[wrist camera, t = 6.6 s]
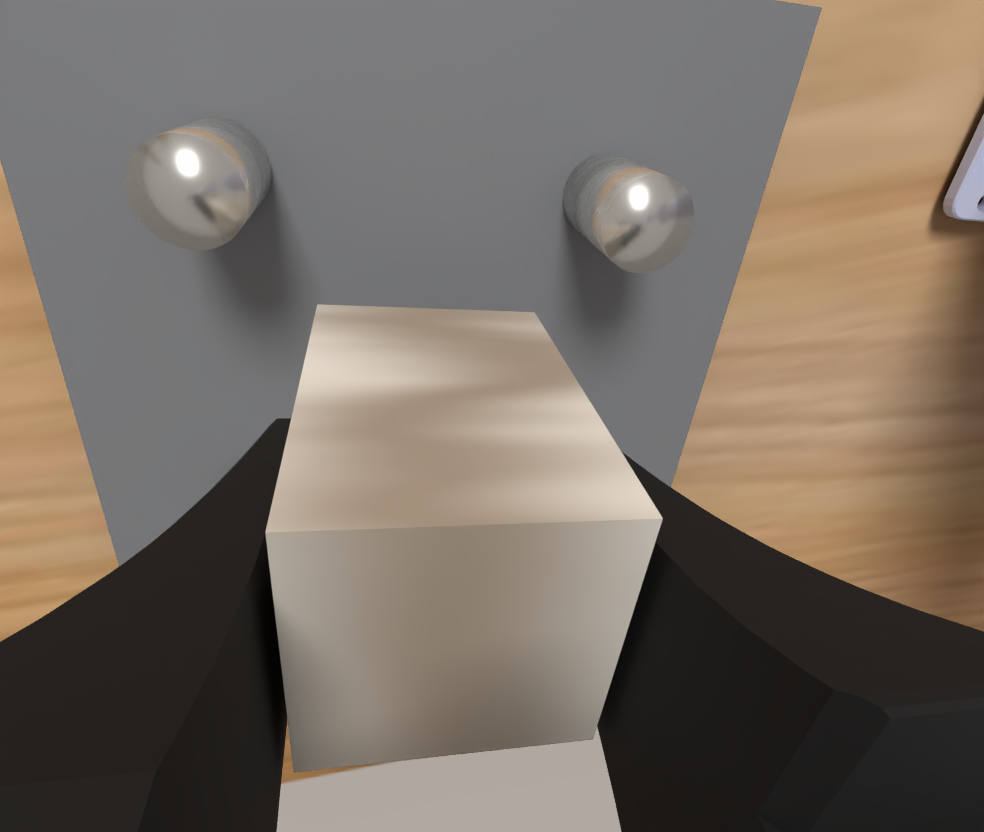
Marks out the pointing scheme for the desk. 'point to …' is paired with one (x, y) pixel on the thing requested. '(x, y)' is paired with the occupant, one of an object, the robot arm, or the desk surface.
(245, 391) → the peg board
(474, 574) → the cream block
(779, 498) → the desk surface
